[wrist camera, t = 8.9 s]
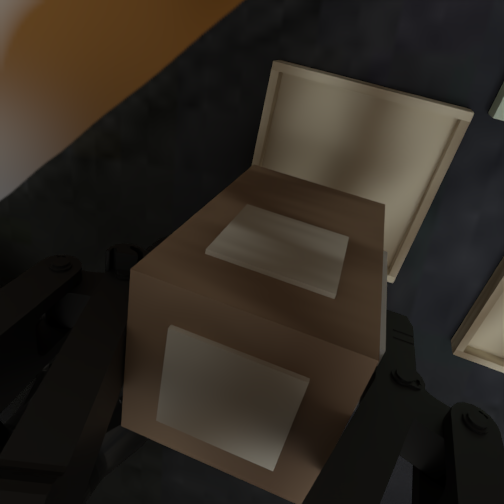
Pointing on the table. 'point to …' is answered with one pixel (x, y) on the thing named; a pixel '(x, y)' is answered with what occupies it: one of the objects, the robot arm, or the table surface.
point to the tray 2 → (484, 326)
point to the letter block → (257, 329)
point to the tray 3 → (498, 105)
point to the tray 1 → (361, 144)
